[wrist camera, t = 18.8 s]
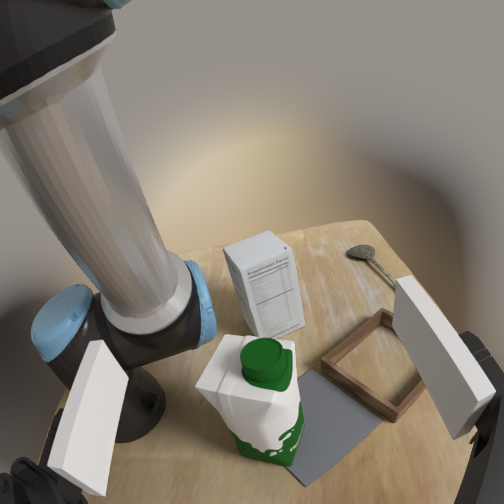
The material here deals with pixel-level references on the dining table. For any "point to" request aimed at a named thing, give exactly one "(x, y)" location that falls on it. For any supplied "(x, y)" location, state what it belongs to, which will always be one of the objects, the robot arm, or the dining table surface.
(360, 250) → the soupspoon
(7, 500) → the robot arm
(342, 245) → the dining table surface
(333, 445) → the rubber mat
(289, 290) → the supplement box
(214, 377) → the soya milk
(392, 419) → the walnut frame
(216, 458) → the dining table surface
